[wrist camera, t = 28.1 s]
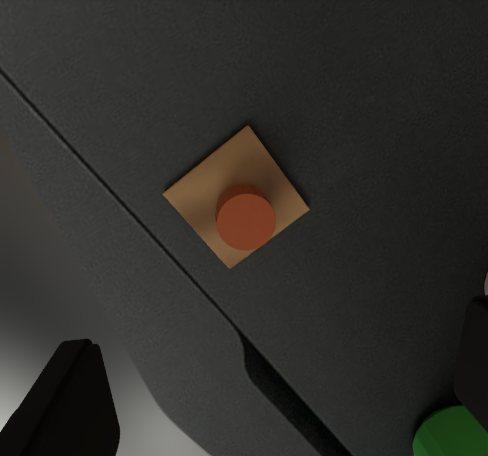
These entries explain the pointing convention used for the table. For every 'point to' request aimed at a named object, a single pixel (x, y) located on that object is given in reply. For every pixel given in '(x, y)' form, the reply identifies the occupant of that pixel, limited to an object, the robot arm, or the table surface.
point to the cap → (245, 218)
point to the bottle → (450, 434)
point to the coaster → (226, 176)
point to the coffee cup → (486, 285)
